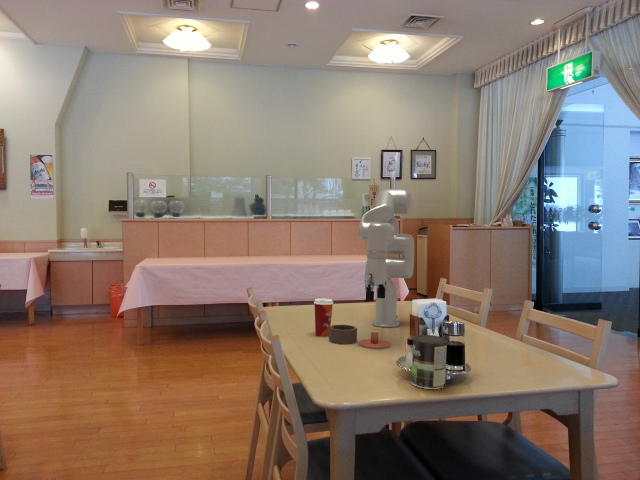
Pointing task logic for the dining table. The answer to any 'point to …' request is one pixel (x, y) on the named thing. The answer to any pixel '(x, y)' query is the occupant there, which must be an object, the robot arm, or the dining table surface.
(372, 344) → the lid
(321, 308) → the coffee cup
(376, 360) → the dining table surface
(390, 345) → the mat
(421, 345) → the coffee can
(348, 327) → the bowl
